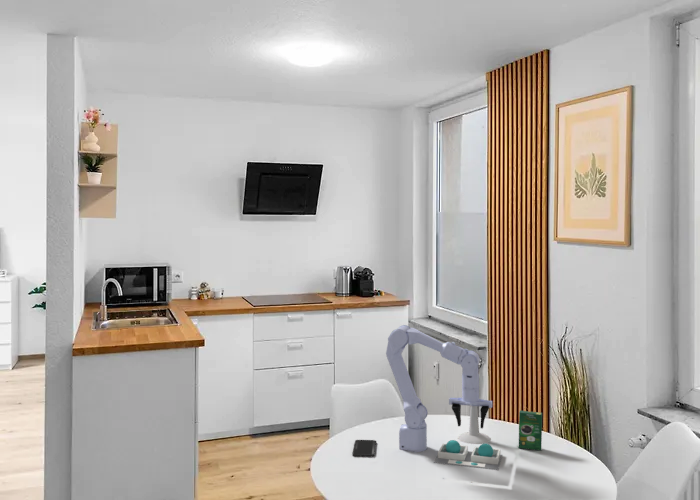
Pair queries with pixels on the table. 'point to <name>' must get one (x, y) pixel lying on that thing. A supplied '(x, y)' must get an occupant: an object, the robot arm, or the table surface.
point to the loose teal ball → (485, 450)
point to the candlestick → (474, 430)
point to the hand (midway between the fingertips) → (470, 426)
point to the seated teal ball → (453, 447)
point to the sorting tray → (469, 458)
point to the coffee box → (530, 430)
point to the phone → (364, 448)
